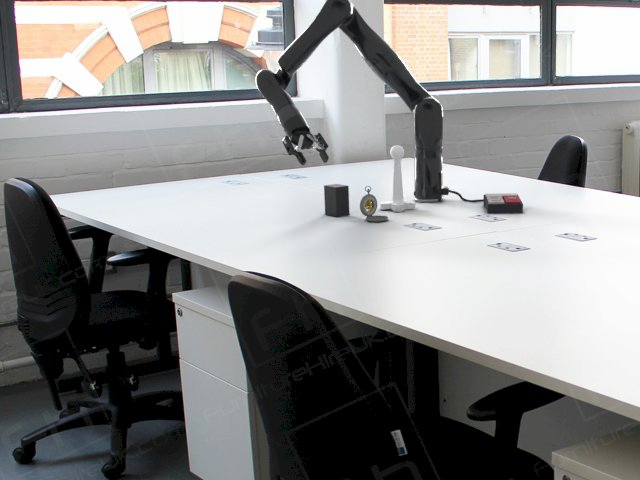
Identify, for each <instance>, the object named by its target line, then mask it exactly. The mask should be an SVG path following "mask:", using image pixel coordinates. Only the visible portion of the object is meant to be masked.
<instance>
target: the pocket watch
mask: <svg viewBox="0 0 640 480" xmlns="http://www.w3.org/2000/svg"><path fill="white" fill-rule="evenodd" d="M364 191H365V192H367V194H364V196H362V198H361V200H360V203H359V210H360V213H361V214H362V215H363V216H365V220H366V221H368V222H373V223H380V222H385V221H388V219H389V217H388V216H386V215H375V214H376V212H377V209H378V200H377V198H376V196H375V195H373V194H371V191H372V187H371V186H370V185H366V186H365V187H364Z"/></svg>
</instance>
